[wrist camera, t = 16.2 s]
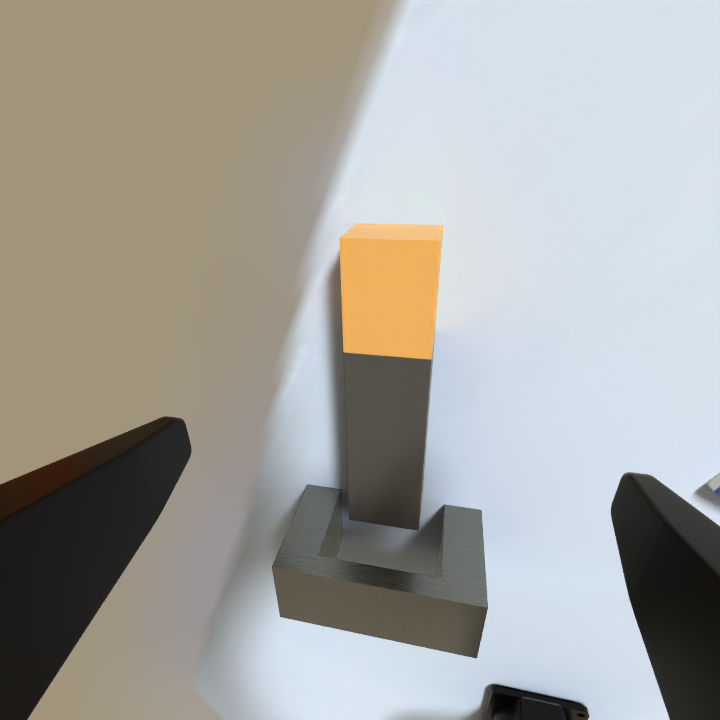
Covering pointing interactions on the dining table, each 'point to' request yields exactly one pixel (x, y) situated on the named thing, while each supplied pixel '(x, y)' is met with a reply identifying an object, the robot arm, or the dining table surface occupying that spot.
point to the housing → (383, 581)
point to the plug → (388, 365)
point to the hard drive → (715, 485)
